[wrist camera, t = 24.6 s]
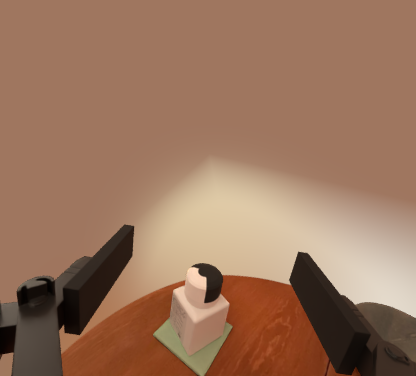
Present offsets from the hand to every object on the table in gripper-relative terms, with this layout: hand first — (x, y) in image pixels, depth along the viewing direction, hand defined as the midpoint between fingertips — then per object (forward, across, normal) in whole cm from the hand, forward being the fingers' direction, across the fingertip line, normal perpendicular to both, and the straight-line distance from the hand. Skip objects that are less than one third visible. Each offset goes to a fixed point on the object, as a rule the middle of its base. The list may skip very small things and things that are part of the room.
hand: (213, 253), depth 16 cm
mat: (+16, +1, -28) cm, 32 cm away
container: (+16, +1, -28) cm, 32 cm away
